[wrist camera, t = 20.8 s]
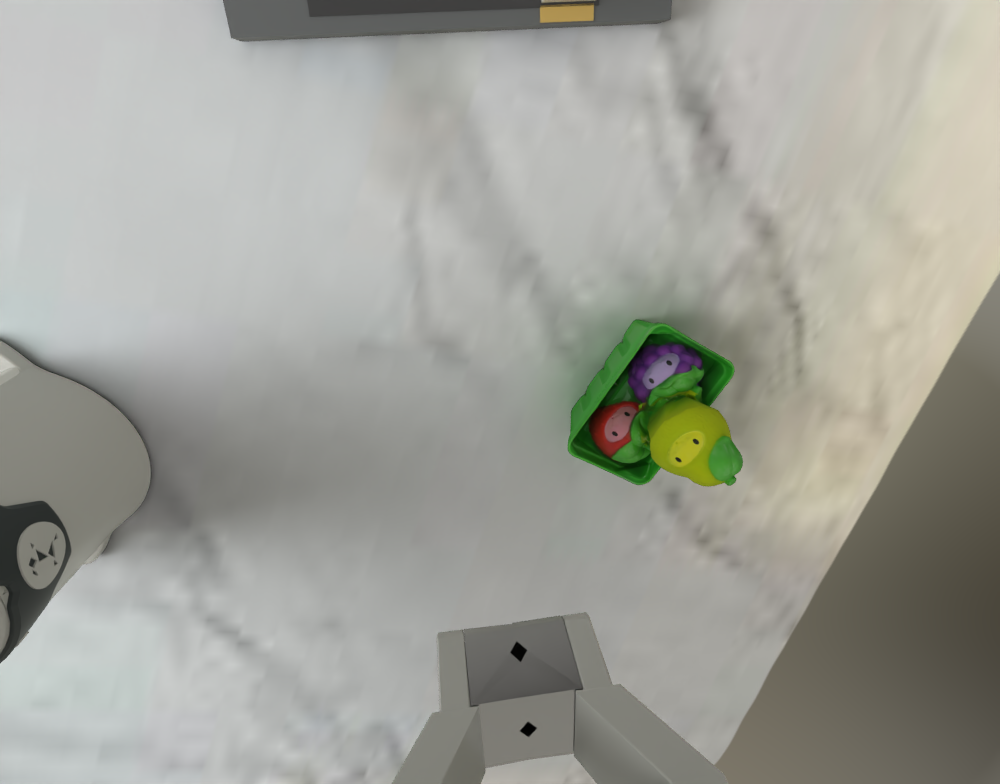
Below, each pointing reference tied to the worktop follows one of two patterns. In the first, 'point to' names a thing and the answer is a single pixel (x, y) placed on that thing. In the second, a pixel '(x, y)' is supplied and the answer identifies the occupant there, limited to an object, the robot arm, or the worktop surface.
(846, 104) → the worktop surface
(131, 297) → the worktop surface
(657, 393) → the fruit basket
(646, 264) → the worktop surface
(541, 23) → the switch panel
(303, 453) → the worktop surface
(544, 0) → the cream tab
